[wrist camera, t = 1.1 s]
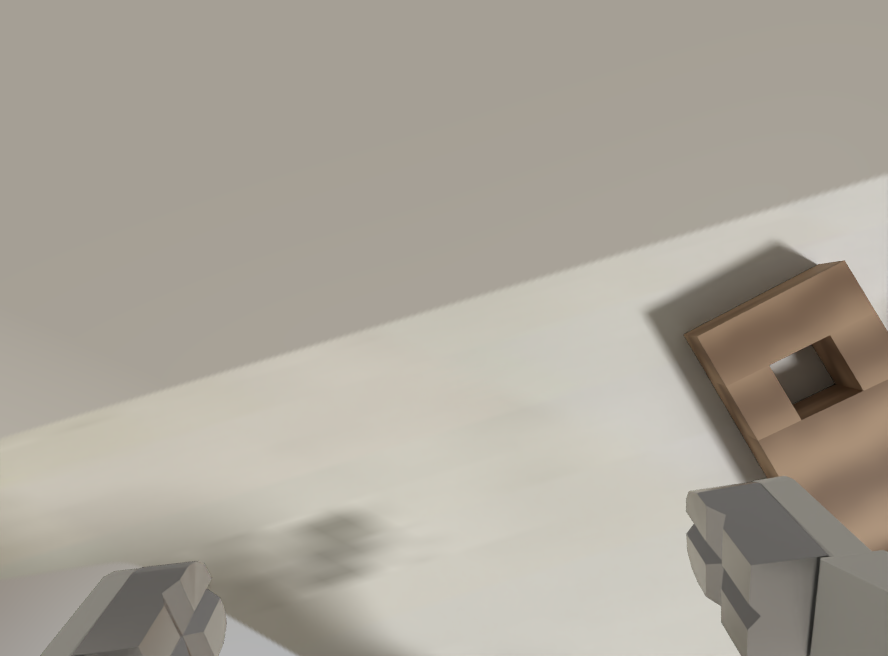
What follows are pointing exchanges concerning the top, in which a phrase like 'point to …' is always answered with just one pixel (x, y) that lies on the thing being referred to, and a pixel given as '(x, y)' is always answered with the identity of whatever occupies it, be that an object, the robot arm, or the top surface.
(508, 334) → the top surface
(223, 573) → the top surface
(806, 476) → the walnut board
